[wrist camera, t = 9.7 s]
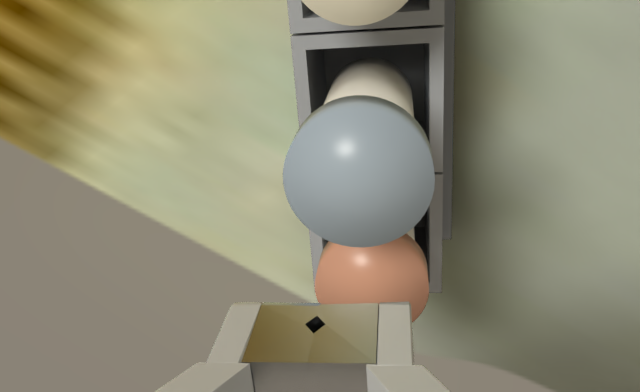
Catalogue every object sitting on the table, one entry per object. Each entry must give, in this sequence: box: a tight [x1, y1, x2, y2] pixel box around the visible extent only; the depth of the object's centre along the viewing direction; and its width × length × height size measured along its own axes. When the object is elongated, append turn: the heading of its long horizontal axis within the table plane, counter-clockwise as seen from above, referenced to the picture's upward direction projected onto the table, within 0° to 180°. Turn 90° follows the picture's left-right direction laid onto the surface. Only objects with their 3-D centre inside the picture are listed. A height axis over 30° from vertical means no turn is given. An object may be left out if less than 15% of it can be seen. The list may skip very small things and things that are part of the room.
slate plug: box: [283, 58, 435, 247], centre depth 19 cm, size 4×4×8 cm
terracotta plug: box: [315, 227, 429, 322], centre depth 24 cm, size 4×4×8 cm
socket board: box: [287, 0, 455, 293], centre depth 25 cm, size 7×17×6 cm, turn 5°
